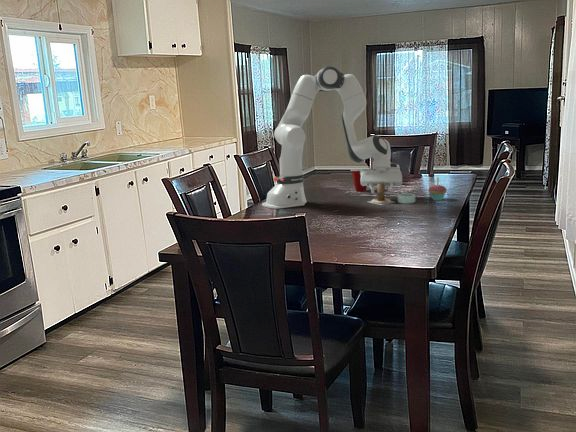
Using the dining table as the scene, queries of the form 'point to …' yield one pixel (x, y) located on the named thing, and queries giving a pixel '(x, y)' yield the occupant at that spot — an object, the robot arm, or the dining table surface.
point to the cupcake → (437, 191)
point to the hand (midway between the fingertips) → (380, 191)
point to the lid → (381, 195)
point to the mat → (381, 204)
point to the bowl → (406, 198)
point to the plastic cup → (357, 180)
